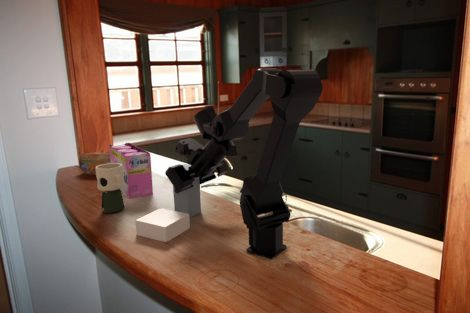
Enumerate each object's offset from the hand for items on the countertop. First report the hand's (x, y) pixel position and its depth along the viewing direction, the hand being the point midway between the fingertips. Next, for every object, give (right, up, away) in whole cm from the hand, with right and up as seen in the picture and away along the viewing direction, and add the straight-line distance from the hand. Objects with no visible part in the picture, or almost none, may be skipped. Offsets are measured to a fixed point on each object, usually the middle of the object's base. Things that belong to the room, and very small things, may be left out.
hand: (183, 189), depth 102 cm
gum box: (-21, -2, +25) cm, 33 cm away
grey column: (+1, -7, +1) cm, 7 cm away
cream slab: (-3, -10, -11) cm, 15 cm away
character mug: (-20, -7, +4) cm, 22 cm away
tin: (-39, +2, +45) cm, 59 cm away
